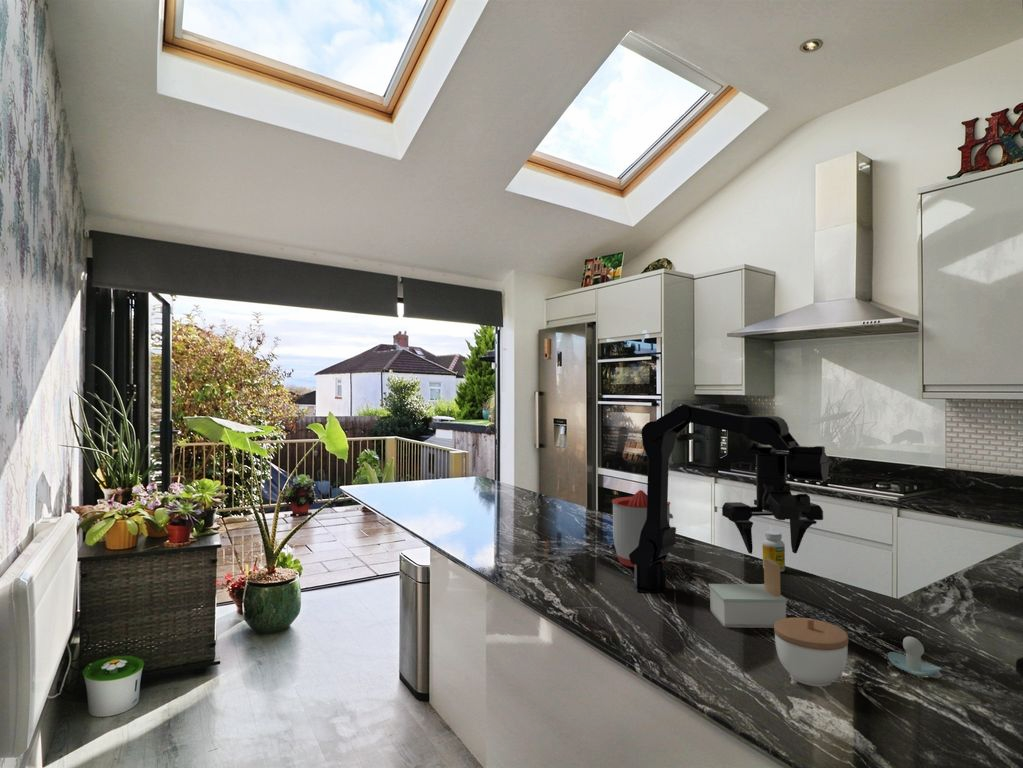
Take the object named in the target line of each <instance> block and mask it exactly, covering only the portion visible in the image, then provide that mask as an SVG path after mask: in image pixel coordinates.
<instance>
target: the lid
mask: <svg viewBox="0 0 1023 768" xmlns="http://www.w3.org/2000/svg"><path fill="white" fill-rule="evenodd" d="M763 582H764V583H761V584H760V583H708V587H709V589H710V588H711V590H712V591H713V592H714V593H715V594H716V595H717V596H718V597H719V598H720V599H721V600H722V601H723V602H769V603H786V604H787V603H788V599H787V598H786V597H785V596H784V595H782V594H781V572H780V565H779V564H777V563H776V562H774V561H773V560H771V559H764V568H763Z"/></svg>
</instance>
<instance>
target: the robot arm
mask: <svg viewBox="0 0 1023 768" xmlns="http://www.w3.org/2000/svg"><path fill="white" fill-rule="evenodd" d="M691 423H692V424H695V425H701V426H705V427H709V428H714V429H719V430H724V431H728V432H732V433H736V434H739V435H741V436H742V437H743V438H746V439H748V440H751V441H753V443H752V444H751V446H750V447H748V448H747V449H746V450H745V452H744V453H745V454H746V455H752V456H753V455H754V456H755V473H756V474H755V476H756V477H755V479H754V480H753V486H756V488H755V489H756V491H755V492H756V494H755V495H756V499H754V500H753V505H754V506H750V505H748V504H745V503H743V502H736V501H735V502H730V501H729V502H724V504H723V505H722V507H721V511H722V512H721V513H722V514H721V515H722V517H724V518H727V519H728V520H729V521H731V522H733V523H734V525H735V526H736V528H737V531H738V532H739V533H740V536H741V538H742V541H743V544H744V546H745V548H746V550H747V553H749V555H750V554H751V555H752V554H753V550H754V549H753V547H754V546H753V536H752V534H753V533H752V527H753V525H754V522H753V521H751V520H750V519H752V517H754V516H756V517H757V516H759V517H760V516H763V517H764V516H765V517H766V516H768V517H769V516H770V517H771V516H773V517H774V518H775V519H776V520H778V521H785V520H789V526H790V527H789V531H790V545H791V552H792V553H793V554H797V553H798V550H799V548H800V546H801V543H802V540H803V538H804V535H805V534H806V532H807V530H808V529H809V527H812V526H813V525H816V524H817V523H818V521H823V520H824V510H823V508H822V507H821V506H820V505H819V504H815V503H813V502H811V497H810V496H809V495H808V493H797V494H792V491H791V486H790V485H791V484H790V483H789V482H788V483H787V474H788V475H790V476H792V478H793V480H803V481H814V482H815V481H816V482H826V481H827V480H828V478H829V471H830V470H829V469H830V467H829V466H830V465H829V463H830V462H829V461H828V456H827V454H826V447H825V446H822V445H817V446H815V445H814V446H801V445H800V444H799V442H798V441H797V440H796V439H795V438H794V436H793V435H792V434H791V433H790V432H789V429H790V428H789V426H788V423H787V421H786V420H785V419H783V418H782V417H780V416H778V415H777V416H776V415H742V414H737V413H731V412H726V411H724V410H723V411H722V410H718V409H714V408H713V409H712V408H709V407H703V406H698V405H695V404H693V403H684V404H683V403H681V404H680V405H678V406H677V407H676V408H674V409H672V410H671V411H670V412H668V413H665V414H664V415H662V416H661V417H659V418H657V419H655V420H653V421H648V422H646V423H645V424H644V426H642V428H641V434H640V435H641V441H642V447H643V451H644V452H645V454H646V457H647V482H646V485H647V486H646V487H647V489H646V493H647V494H646V495H647V518H646V521H645V523H644V526H643V528H642V530H641V534H640V539H639V545H638V547H637V548H636V549H635V550H634V551H632V552H631V553H630V554H629V558H630V561H631V564H634V567H633V568H634V569H633V570H634V571H633V573H634V575H633V576H634V580H633V581H632V585H633V587H634V588H635V590H636V591H637V592H639V593H665V592H666V585H667V584H666V583H667V580H666V579H667V578H666V577H667V575H666V571H667V570H666V569H665V567H664V563H662V562H661V561H663V560H667V557H668V554H670V553H671V552H672V551H673V550H674V546H675V545H677V542H676V533H677V528H676V527H675V526H671V525H670V522H669V523H668V520H667V504H668V502H669V500H668V496H669V495H668V494H669V467H670V466H669V463H670V461H669V460H670V458H671V454H672V452H673V451H674V448H675V445H676V439H677V435H678V434H679V433H681V432H682V431H684V430H685V429H686V427H688V426H689V425H690V424H691ZM761 445H763V446H761Z"/></svg>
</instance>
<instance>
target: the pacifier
mask: <svg viewBox="0 0 1023 768" xmlns="http://www.w3.org/2000/svg"><path fill="white" fill-rule="evenodd" d="M902 646H903V649H904V650H905V655H904V654H903V653H899V652H895V651H890V652H888V653H887V658H888V661H889V662H890V663H891V664H892V665H894V666H895V667H896V668H898V669H900V670H901V671H902V670H904V671H906V672H908V673H911V674H914V675H918V676H924V677H925V676H928V678H929V677H935V678H934V679H940V677H941V678H942V677H943V674H942V673H941V672H940V671H941V670H942V668H941V667H940V666H936V665H932V664H929V663H926V662H923V661H922V656H923V655H924V652H925V648H924V646H923V644H922V643H921V641H920V640H918V639H917V638H916V637H913V636H906V637H904V638H903V641H902Z"/></svg>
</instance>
